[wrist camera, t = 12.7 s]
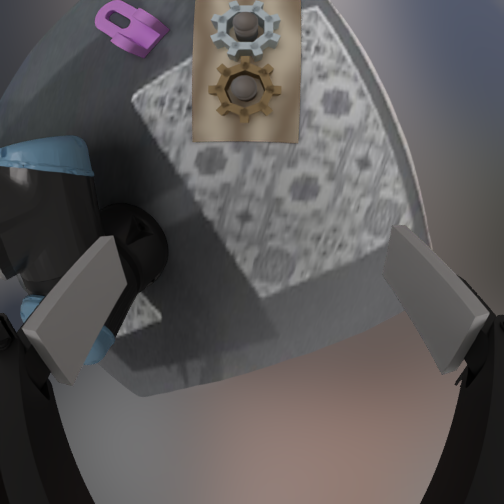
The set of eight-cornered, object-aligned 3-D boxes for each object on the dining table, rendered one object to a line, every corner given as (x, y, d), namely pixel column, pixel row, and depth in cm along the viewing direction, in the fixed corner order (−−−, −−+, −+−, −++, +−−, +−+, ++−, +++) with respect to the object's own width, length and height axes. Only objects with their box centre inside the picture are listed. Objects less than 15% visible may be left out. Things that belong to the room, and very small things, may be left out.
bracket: (170, 30, 27) (154, 16, 21) (144, 58, 29) (123, 50, 23) (115, -2, 23) (95, -15, 17) (93, 24, 25) (69, 16, 19)
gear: (214, 62, 29) (209, 56, 26) (215, 11, 25) (211, 1, 22) (277, 62, 29) (280, 56, 25) (278, 11, 25) (280, 1, 22)
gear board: (195, 141, 36) (178, 149, 28) (197, 1, 25) (183, -23, 17) (296, 142, 36) (308, 150, 28) (299, 1, 25) (310, -24, 17)
